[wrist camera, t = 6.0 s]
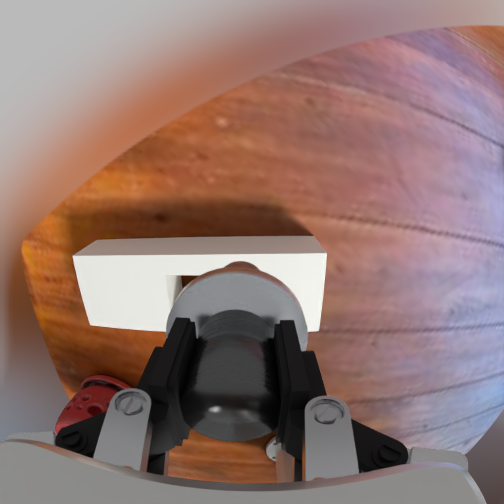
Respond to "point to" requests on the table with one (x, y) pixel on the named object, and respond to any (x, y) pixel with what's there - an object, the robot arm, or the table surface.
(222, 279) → the silver and black post
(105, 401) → the plant pot
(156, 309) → the bar
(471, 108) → the table surface
